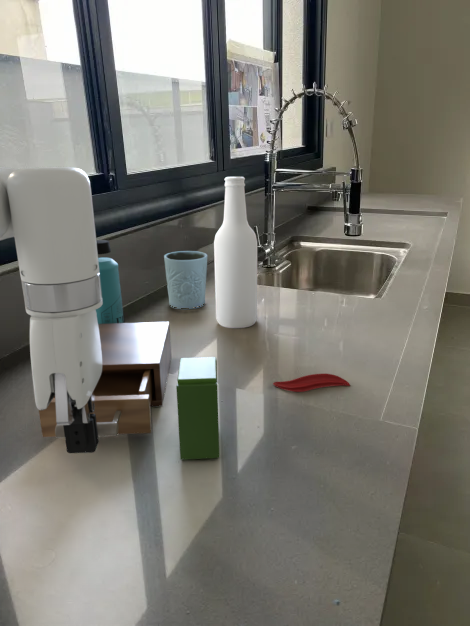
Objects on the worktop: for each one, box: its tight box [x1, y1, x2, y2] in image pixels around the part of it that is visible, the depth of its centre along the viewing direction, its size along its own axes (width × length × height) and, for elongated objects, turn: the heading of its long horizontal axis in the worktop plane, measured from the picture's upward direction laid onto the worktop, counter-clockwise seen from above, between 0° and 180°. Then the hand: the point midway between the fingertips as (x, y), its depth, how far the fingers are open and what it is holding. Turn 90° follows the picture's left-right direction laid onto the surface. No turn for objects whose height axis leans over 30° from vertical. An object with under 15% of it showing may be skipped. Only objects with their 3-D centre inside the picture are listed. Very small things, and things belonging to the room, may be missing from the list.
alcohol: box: [213, 176, 258, 329], centre depth 101 cm, size 9×9×30 cm
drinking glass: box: [163, 250, 208, 310], centre depth 117 cm, size 10×10×12 cm
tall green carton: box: [175, 356, 220, 460], centre depth 61 cm, size 5×8×10 cm, turn 3°
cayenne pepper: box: [272, 373, 351, 393], centre depth 77 cm, size 12×5×2 cm, turn 81°
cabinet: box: [98, 321, 172, 408], centre depth 79 cm, size 18×15×7 cm
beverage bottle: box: [96, 239, 126, 324], centre depth 92 cm, size 6×7×20 cm
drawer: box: [37, 369, 155, 439], centre depth 68 cm, size 21×14×5 cm, turn 3°
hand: (83, 448), depth 56 cm, fingers closed
